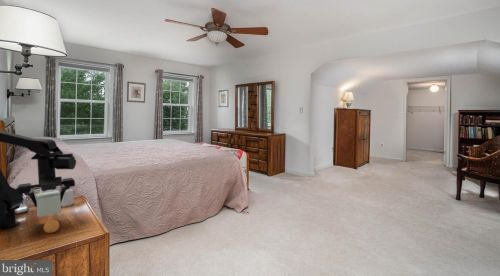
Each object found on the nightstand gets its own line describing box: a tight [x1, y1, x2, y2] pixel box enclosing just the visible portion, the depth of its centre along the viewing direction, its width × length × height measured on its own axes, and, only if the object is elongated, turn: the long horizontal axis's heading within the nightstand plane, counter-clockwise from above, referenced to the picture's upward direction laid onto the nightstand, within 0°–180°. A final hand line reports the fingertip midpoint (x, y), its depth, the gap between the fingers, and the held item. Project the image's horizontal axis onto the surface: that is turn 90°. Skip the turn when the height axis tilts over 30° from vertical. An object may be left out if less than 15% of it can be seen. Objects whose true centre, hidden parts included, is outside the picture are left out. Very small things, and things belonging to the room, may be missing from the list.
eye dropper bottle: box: [61, 188, 74, 208], centre depth 130 cm, size 4×6×12 cm
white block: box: [35, 190, 62, 218], centre depth 108 cm, size 8×8×8 cm
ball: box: [43, 219, 60, 234], centre depth 102 cm, size 5×5×5 cm
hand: (48, 204), depth 107 cm, fingers closed on white block, 8 cm apart
